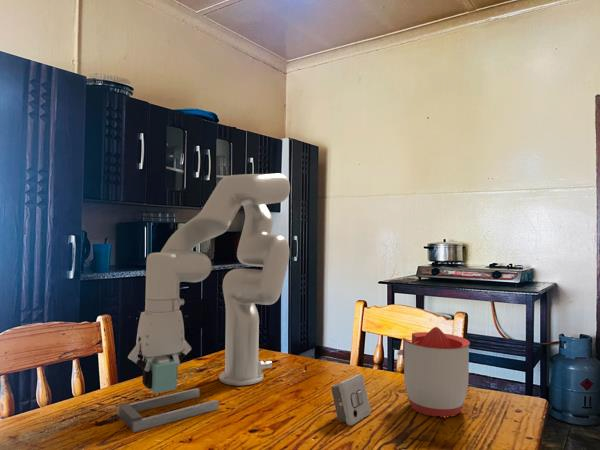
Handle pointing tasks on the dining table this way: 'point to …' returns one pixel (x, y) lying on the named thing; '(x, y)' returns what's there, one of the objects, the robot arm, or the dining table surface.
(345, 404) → the electrical switch
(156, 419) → the rail channel
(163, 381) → the block
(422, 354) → the citrus juicer
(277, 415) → the dining table surface
